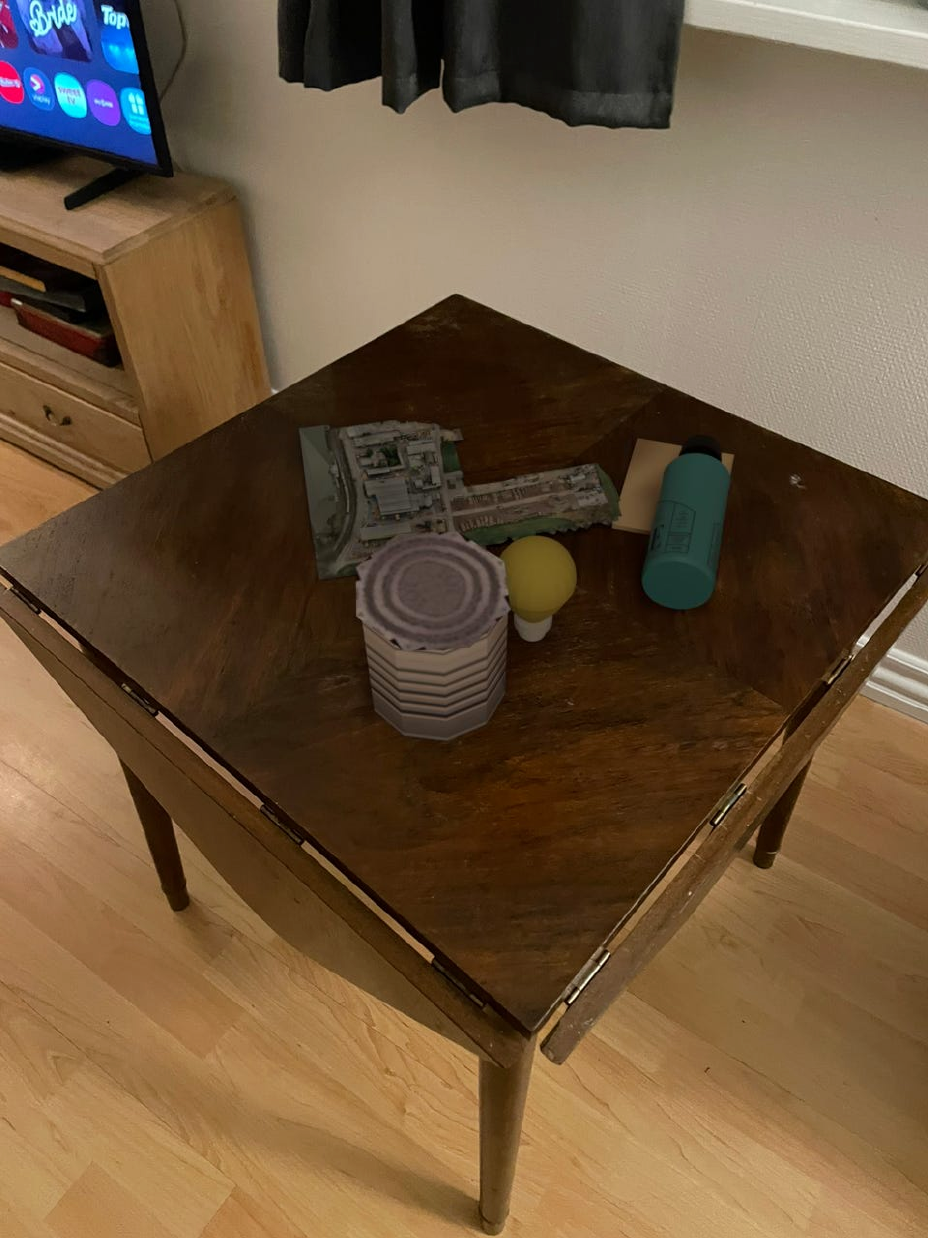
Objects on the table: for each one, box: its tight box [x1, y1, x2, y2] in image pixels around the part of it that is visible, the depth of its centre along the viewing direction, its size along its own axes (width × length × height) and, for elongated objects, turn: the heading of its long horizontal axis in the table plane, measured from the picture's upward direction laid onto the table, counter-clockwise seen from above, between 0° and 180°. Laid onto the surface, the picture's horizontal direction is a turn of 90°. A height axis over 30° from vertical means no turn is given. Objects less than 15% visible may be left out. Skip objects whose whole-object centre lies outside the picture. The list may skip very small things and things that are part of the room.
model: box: [298, 419, 622, 581], centre depth 93 cm, size 21×30×2 cm
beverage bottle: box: [639, 434, 731, 610], centre depth 85 cm, size 6×7×20 cm
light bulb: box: [498, 535, 578, 642], centre depth 77 cm, size 7×7×10 cm
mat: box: [611, 437, 735, 536], centre depth 93 cm, size 10×14×1 cm
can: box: [355, 532, 512, 742], centre depth 72 cm, size 11×11×12 cm
